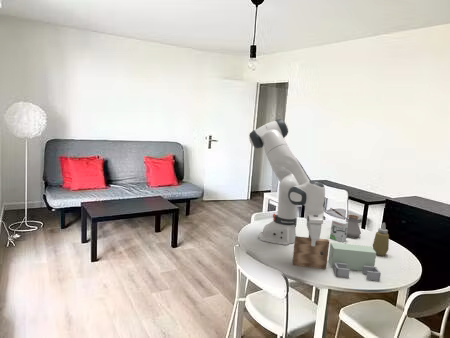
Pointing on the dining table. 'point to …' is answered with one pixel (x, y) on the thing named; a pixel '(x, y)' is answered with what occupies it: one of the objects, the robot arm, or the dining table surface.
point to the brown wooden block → (310, 252)
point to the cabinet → (353, 260)
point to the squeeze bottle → (381, 241)
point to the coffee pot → (351, 225)
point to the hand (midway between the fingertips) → (311, 242)
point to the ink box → (339, 230)
